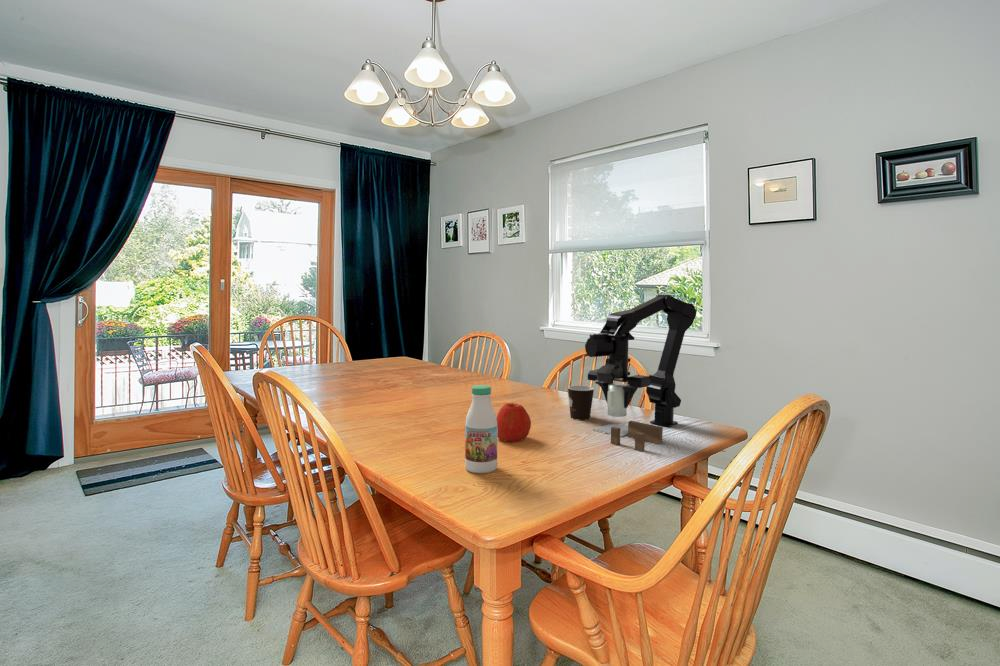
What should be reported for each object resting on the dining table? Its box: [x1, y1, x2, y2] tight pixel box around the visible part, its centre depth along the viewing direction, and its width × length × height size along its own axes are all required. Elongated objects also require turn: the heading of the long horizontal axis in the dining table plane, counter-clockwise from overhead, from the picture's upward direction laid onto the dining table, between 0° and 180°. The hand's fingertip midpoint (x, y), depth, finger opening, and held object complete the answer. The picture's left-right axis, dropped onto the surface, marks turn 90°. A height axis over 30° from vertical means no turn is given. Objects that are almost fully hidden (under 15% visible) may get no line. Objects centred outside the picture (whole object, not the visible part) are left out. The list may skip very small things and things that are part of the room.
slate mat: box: [592, 423, 628, 438], centre depth 159 cm, size 10×10×1 cm
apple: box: [496, 402, 532, 443], centre depth 150 cm, size 10×10×10 cm
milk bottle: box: [464, 384, 498, 474], centre depth 125 cm, size 8×8×20 cm
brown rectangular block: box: [610, 420, 664, 452], centre depth 146 cm, size 11×10×4 cm
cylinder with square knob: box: [606, 382, 628, 418], centre depth 158 cm, size 7×6×9 cm
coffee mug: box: [567, 385, 595, 421], centre depth 176 cm, size 12×9×10 cm
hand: (617, 406), depth 158 cm, fingers closed on cylinder with square knob, 6 cm apart
